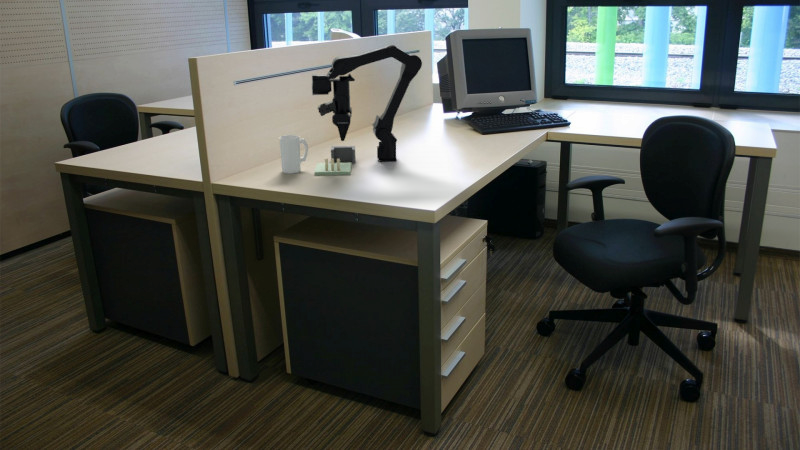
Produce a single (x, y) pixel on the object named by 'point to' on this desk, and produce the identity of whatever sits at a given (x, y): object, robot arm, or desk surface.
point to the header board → (333, 168)
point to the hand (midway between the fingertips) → (343, 137)
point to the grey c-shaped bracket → (343, 153)
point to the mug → (292, 153)
